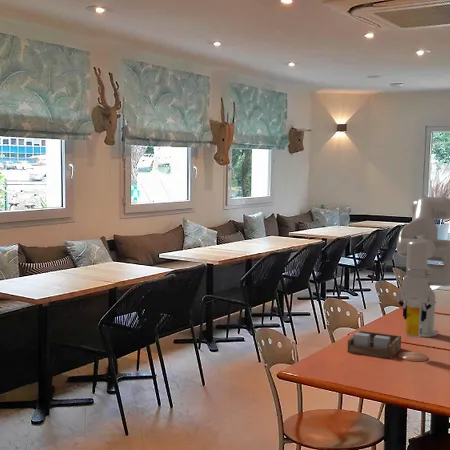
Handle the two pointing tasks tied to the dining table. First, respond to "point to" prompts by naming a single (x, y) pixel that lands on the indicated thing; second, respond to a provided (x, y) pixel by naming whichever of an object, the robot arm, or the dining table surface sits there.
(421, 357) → the coaster
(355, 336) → the offcut
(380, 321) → the dining table surface
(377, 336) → the offcut
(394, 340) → the rack
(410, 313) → the beer can
